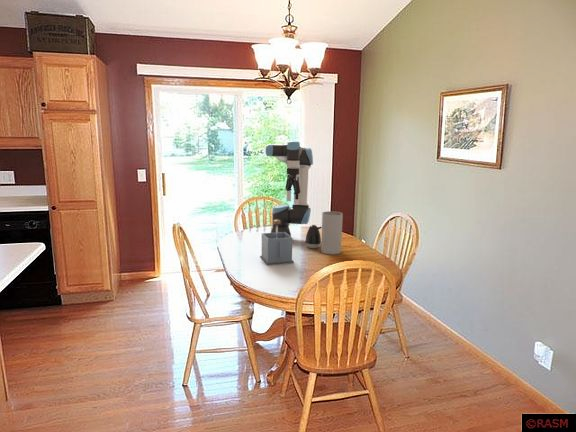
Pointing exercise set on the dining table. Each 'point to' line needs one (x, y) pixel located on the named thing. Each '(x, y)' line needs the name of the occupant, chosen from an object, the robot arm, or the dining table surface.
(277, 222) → the plunger
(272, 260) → the grey open bin
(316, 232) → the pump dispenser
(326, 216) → the cylinder vase
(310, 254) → the dining table surface
